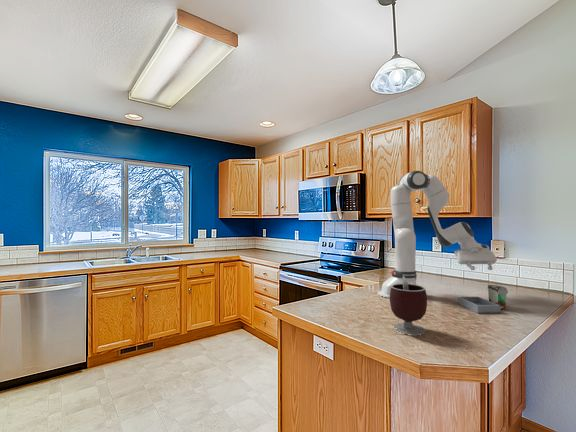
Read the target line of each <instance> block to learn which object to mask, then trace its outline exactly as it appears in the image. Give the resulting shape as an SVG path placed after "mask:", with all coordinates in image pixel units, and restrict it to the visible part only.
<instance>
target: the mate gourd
mask: <svg viewBox="0 0 576 432" xmlns="http://www.w3.org/2000/svg"><path fill="white" fill-rule="evenodd" d="M427 295H428V294H427V291H426V287H425V286H423V285H418V284H416V285H413V284H408V283H407V280H406V278H405V277H404V276H403V284H394V285H391V290H390V298H389V305H390V309H391V312H392V313H393V315H394V316H395V317H396V318H398V319H399V320H402V321H404V322H401V323H399V322H398V323H395V324H393V325H392V326H394V328H397V329H396V331H398V332H401V333H404V334H411V335H420V334H423V335H425V334H426V329H425V328H424V327H422V326H421V325H417V324H415V323H414V324H413V322H416V321H419V320H421V319H423V317H424V316H425V315H426V314H427V307H428V297H427ZM394 328H393V329H394ZM393 329H392V330H393ZM424 333H425V334H424ZM420 336H421V335H420Z"/></svg>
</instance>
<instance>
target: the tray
mask: <svg viewBox="0 0 576 432" xmlns="http://www.w3.org/2000/svg"><path fill="white" fill-rule="evenodd" d="M457 304H458V305H461V306H462V307H464V308H466V309H468V310H470V311H472V312H475V313H476V314H501V310H500V305H498V304H495V303H493V302H490V301H489V299H488V300H487V299H485V298H482V297H481V296H457Z"/></svg>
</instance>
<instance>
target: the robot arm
mask: <svg viewBox="0 0 576 432" xmlns="http://www.w3.org/2000/svg"><path fill="white" fill-rule="evenodd" d="M418 190H420V191H421V192H423V193H424V195H425V197H426V199H427V201H428V206H427V214H428V216H429V219H430V222H431V224H432V227H433V230H434V232H435V234H436V240H437V242H438V244H439V245H440V246H441V247H443V248H444V247H445V248H449V247H450V246H453V245H454V244H456V243H458V245H459V246H460V249H456V250H454V251H453V252H454V253H453V254H454V255H455V257H456V260H457V263H458V264H459V265H466V267H468V268H469V269H470V270H471V271H475V270H476V267H475V266H474V265H487V270H488V271H492V270H493V265H494V264H496V262H497V260H498V259H497V256H496V255H495V253H494V252H493V251H492V250H491V249H490V247H489V245H486V244H482V243H479V242H477V241H476V240H475V238H474V234H475V233H474V231H473V230H472V228H471V226H470V225H469V223H467V222H465V221H460V222H457V223H455V224H453V225H450V226H449V227H446V228H445V229H443V228H442V226H441V223H440V221H439V218H438V215H439V214H440V212H441V210H443V209H444V208H445V207H446V206H447V205H448V203H449V201H450V194H449V191H448V190H447V188H446V187H445V185H444V183H443V182H442V181H441V180H440V179H439V178H438V176H436V175H434V174H429V175H428V174H426V173H425V172H423V171H420V170H414V171H413V170H412V171H411V172H407V173H406V174H404V175H403V176H401V178H400V180H399V181H398V184H397V185H395V186H393V187H391V189H390V195H389V196H390V197H389V198H390V208H391V215H392V216H391V218H392V226H393V231H394V263H395V264H394V270H392V269H390V270H389V274H390V275H391V276H390V277H389V278H388V279H386V280H385V281H383V282H382V285H381V290H380V289H379V290H378V291H377V294H378V295H379V296H380V297H382V296H383V298H385V297H386V299H390V290H391V285H394V284H403V276H404V277H405V278H406V280H407V283H408V284H413V285H417V279H418V278H417V270H416V254H417V253H416V250H417V249H416V245H417V244H416V243H417V242H416V241H417V237H416V233H415V228H414V219H413V218H414V217H413V210H412V203H411V194H412V192H416V191H418Z"/></svg>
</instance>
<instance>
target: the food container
mask: <svg viewBox="0 0 576 432" xmlns="http://www.w3.org/2000/svg"><path fill="white" fill-rule="evenodd" d="M487 289H488V290H487V291H488V301H490V302H493V303H495V304H498V305H500V311H505V309H506V307H507V306H506V304H507V294H509V291H508V288H507V287H505V286H501V285H497V284H487Z"/></svg>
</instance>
